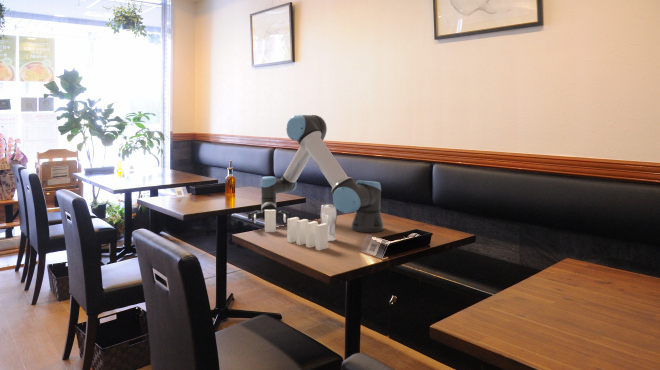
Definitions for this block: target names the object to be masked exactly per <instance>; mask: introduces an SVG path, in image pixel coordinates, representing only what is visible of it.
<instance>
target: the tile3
mask: <svg viewBox="0 0 660 370" xmlns="http://www.w3.org/2000/svg"><path fill="white" fill-rule="evenodd" d="M308 222H309V219H307V218H303V219H299V220H298V221H296V241H295V242H296V245H297V246H302V245H306V223H308Z"/></svg>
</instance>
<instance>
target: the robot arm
mask: <svg viewBox="0 0 660 370" xmlns="http://www.w3.org/2000/svg"><path fill="white" fill-rule="evenodd" d="M327 131H328V128H327V124H326V122H325V119H324V118H323V117H321V116H319V115H317V114H308V115H307V114H298V115H297V114H296V115H293V116H291V117H290V118H289V120H288V121H287V123H286V135H287V137H288V138H289V139H290V140H292V141H297V143H298V144H299V148H298V149H297V151H296V152H295V154H294V155H293V158H292V159H291V161H290V163H289V164H288V166H287V169H286V170H285V171H284V173H283V175H282V176H281V178H277V177H276V176H271V175H270V176H267V175H266V176H263V177H261V182H260V183H261V184H260V187H261V188H260V190H261V197H260V198H261V200H260V201H261V205H260V207H261V211H259V210H257V209H256V210H254V211H252V212H250V213H248V214H247V220H251V221H252V222H253V223H254V224H256V223H257V222H256V221H257V219H265V210H276V219H277V218H279V219H283V222H284V223H287V219H289V218H292V213H291V212H288V211H285V210H284V209H281V210H280V211H279V210H277V194H283V193H284V194H285V193H290V192H293V191H295V190H296V189H297V186H298V182H297V180H298V179H299V177H300V175H301V174H302V173H303V170H304V169H305V168H306V166H307V164H308V163H309V161H310V159H311V158H312V160H313V162H314V163H315V164H316V165H317V167H318V169H319V170H320V172H321V174H322V175H323V176H324V177H325V179H326V180H327V182H328V184H329V185H330V186H331V194H332V203H333V205H336V209H337V211H340V212H341V213H345V214H347V213H348V214H349V213H354V212H355V213H354V215H353V219H352V223H351V229H352V230H353V231H354V232H358V233H359V232H360V233H379V232H382V231H383V230H384V229H385V228H384V227H385V225H384V222H383V218H382V215H381V203H382V202H381V201H382V200H381V199H382V198H381V197H382V196H381V195H382V186H381V183H380V182H379V181H372V180H361V179H359V180H358V179H357V180H355V179H354V178H353V177H351V176H348V175H347V174H346V172H345V171H344V168H343V167H342V166H341V165H340V163H339V162H338V160H337V159H336V158H335V156H334V155H333V154H332V151H330V149H329V147H328V146H327V145H326V143H325V142H324V140H325V138H326V134H327ZM276 178H277V179H276Z"/></svg>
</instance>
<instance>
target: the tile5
mask: <svg viewBox="0 0 660 370" xmlns="http://www.w3.org/2000/svg"><path fill="white" fill-rule="evenodd" d="M328 246H329V242H328V224H326V223H323V224H321V223H318V225H316V246H315V250H316V251H322V250H326V249H328V248H329V247H328Z"/></svg>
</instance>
